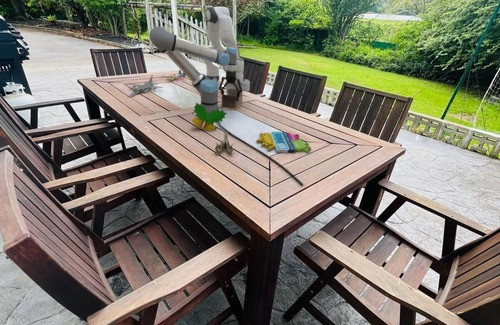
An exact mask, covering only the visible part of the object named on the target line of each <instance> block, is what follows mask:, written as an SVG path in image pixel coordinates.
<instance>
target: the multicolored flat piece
mask: <svg viewBox="0 0 500 325" xmlns="http://www.w3.org/2000/svg"><path fill="white" fill-rule="evenodd" d="M299 136H300V135H299V134H298V133H296V134H294V133H291V132H287V131H270V132H264V133H263V132H260V133H259V139H258V138H257V139H256V143H257V144H261V148H263V147H264V148H265V149H267V151H268V152H271V151H272V150H273V149H275V152H276V153H283V154H285V153H287V154H288V153H290V154H293V153H296V152H298V153H301V152H305V153H310V151H311V150H312V149H311V148H312V146H309V142H304V141H303V139H302V138H299Z"/></svg>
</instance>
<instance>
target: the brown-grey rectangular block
mask: <svg viewBox="0 0 500 325" xmlns="http://www.w3.org/2000/svg"><path fill="white" fill-rule="evenodd" d="M237 92H238V91H237V90H236V89H226V90H225V91H224V93H223V94H222V95H221V108H222V109H226V110H231V111H232V110H233V111H236V110H237V109H238V108H239V107H240V106H241V105H242V104H243V91H242V92H240V97H239V101H237Z"/></svg>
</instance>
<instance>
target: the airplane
mask: <svg viewBox="0 0 500 325" xmlns="http://www.w3.org/2000/svg"><path fill="white" fill-rule="evenodd" d="M153 78H154V75H153V74H151V76H150V78H149V79H148V81H143V83H144V84H136V83H129V85H131V86H132V87H131V89H133V91H131V93H130V94H129V95H128V96H127V98H129V97H134V96H136V95H139V94H140V93H147V92H150V91H151V90H152V91H155V90H157V88H159V89H163V88H164V87H163V86H155V85H160V83H159V82H158V83H157V82H154V81H153Z"/></svg>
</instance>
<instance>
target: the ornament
mask: <svg viewBox="0 0 500 325" xmlns="http://www.w3.org/2000/svg"><path fill="white" fill-rule="evenodd" d="M219 110H220V108H219V109H217V110H216V111H214V110H212V112H211V113H208V112H206V109H204V106H201V103H198V102H195V105H194V106H193V112H194V113H195V118H192V119H191V122H192V123H193V125H195V127H197V128H198V129H202V130H203V131H206V132H212V131H213V132H214V131H215V130H216V126H215V124H218V122H220V123H221V122H223V119H226V115H227V114H228V113H227V112H224V110H223V109H221V110H220V111H219ZM207 113H208V115H207ZM214 123H215V124H214Z"/></svg>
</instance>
